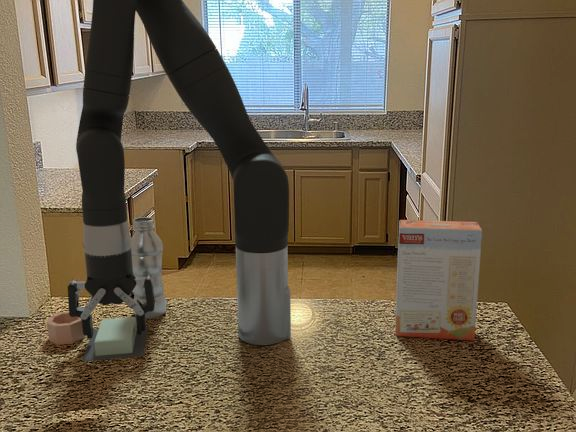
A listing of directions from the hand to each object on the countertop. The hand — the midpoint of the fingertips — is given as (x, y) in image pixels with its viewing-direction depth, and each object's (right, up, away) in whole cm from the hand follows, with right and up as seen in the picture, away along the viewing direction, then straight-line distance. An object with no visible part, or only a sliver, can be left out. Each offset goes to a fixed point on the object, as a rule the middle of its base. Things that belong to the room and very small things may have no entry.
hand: (115, 334), depth 99 cm
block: (0, -1, 0) cm, 1 cm away
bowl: (-9, -2, +3) cm, 10 cm away
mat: (0, -2, +1) cm, 2 cm away
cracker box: (+57, -1, +5) cm, 58 cm away
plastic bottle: (+3, +1, +13) cm, 13 cm away
